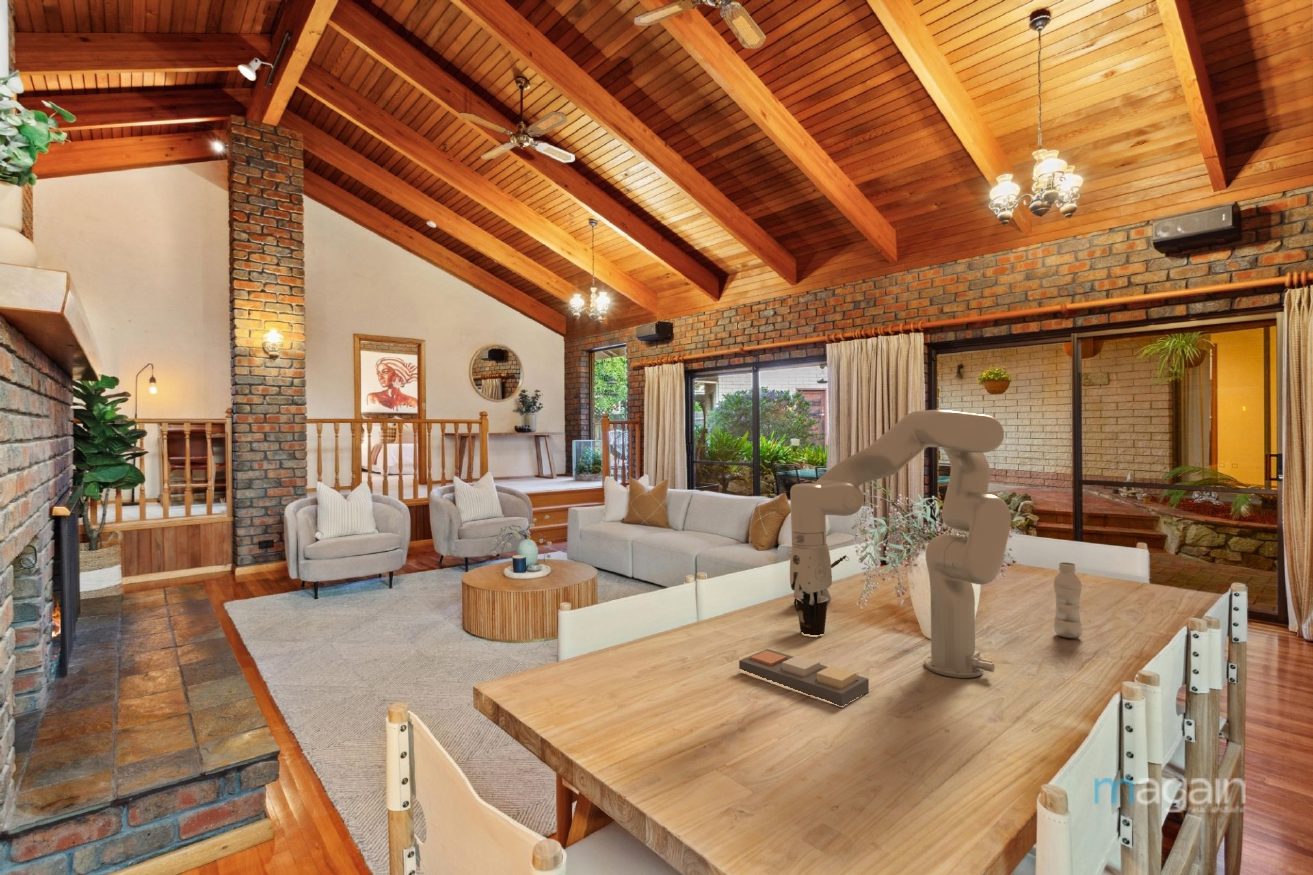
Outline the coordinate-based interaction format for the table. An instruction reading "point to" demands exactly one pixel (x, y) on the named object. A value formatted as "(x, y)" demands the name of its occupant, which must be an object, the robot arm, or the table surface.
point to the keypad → (806, 681)
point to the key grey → (801, 666)
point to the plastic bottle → (1067, 602)
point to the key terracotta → (768, 658)
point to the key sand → (836, 677)
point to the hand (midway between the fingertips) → (811, 620)
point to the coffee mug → (812, 627)
